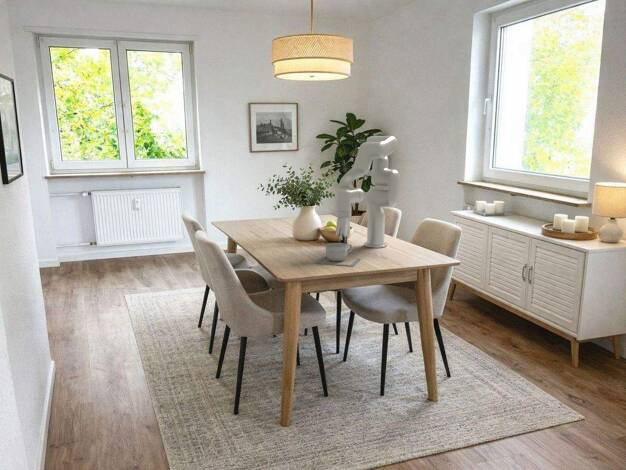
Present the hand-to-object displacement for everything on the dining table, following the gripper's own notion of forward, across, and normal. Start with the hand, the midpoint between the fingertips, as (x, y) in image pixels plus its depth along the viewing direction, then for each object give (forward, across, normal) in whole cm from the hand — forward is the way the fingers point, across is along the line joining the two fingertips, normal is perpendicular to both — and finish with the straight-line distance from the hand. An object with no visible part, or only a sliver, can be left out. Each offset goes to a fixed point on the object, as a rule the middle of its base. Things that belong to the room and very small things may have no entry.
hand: (343, 249), depth 264 cm
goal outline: (+4, +9, 0) cm, 10 cm away
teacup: (+4, +7, 0) cm, 8 cm away
